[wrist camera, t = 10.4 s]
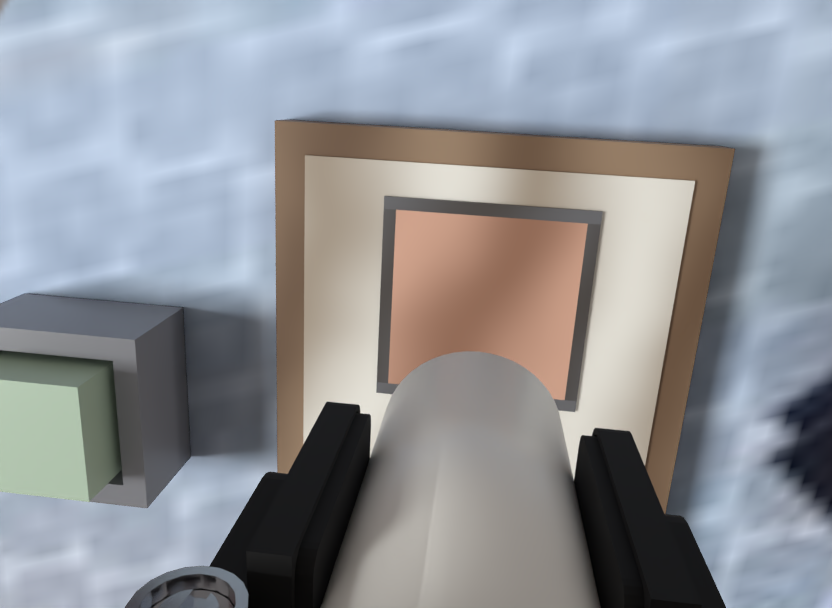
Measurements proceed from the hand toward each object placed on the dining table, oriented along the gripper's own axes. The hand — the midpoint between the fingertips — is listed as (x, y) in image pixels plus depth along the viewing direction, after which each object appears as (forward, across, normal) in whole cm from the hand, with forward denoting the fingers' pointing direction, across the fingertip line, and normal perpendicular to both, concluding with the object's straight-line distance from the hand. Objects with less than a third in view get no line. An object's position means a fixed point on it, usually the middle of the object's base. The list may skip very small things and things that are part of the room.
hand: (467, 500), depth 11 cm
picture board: (+13, 0, +5) cm, 14 cm away
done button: (+10, +14, +5) cm, 18 cm away
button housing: (+13, +14, +5) cm, 20 cm away
